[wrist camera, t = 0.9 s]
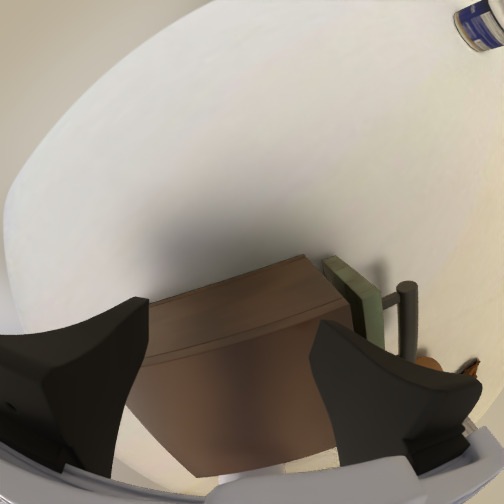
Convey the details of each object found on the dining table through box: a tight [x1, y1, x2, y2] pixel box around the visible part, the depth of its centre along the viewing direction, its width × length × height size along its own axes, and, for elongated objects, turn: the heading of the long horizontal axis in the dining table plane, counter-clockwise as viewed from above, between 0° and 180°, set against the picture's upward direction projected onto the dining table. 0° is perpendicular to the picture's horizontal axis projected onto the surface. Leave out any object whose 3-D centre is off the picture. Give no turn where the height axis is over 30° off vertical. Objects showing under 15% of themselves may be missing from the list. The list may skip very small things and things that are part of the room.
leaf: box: [463, 359, 480, 378], centre depth 28 cm, size 6×7×2 cm
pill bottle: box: [454, 0, 504, 52], centre depth 10 cm, size 6×6×10 cm
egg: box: [414, 357, 443, 371], centre depth 23 cm, size 4×4×6 cm
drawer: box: [322, 255, 418, 363], centre depth 18 cm, size 17×11×7 cm
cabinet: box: [125, 254, 354, 478], centre depth 18 cm, size 14×13×9 cm
